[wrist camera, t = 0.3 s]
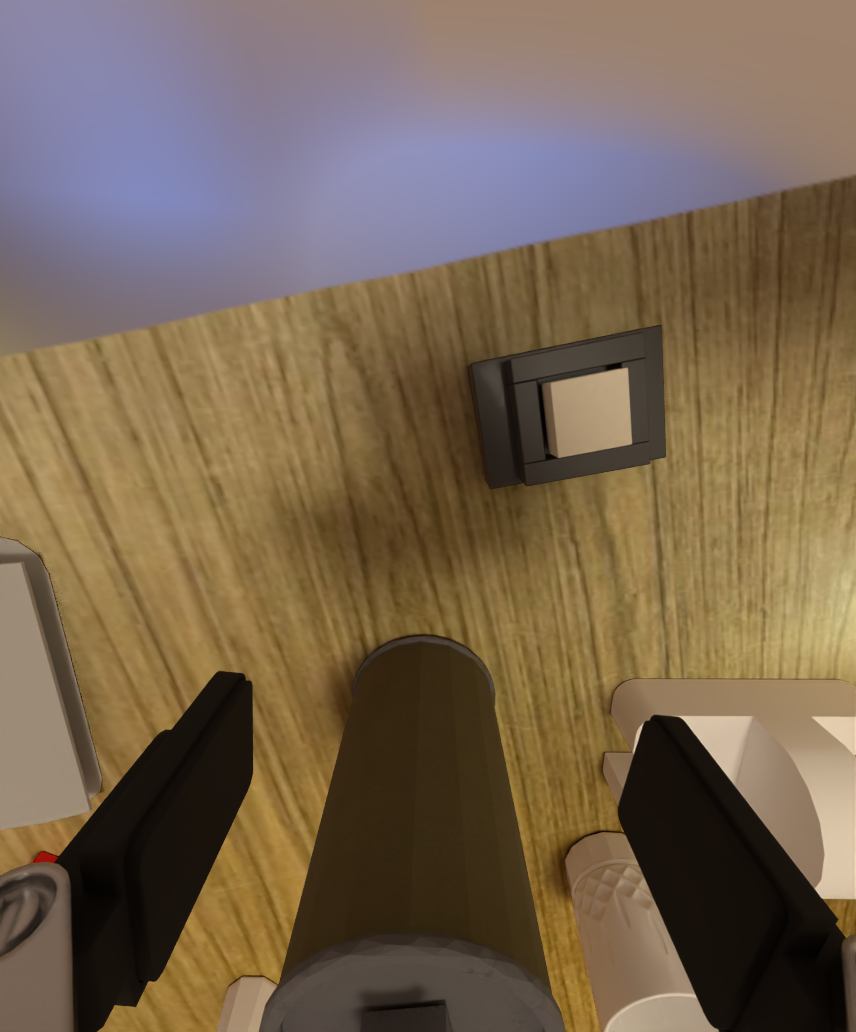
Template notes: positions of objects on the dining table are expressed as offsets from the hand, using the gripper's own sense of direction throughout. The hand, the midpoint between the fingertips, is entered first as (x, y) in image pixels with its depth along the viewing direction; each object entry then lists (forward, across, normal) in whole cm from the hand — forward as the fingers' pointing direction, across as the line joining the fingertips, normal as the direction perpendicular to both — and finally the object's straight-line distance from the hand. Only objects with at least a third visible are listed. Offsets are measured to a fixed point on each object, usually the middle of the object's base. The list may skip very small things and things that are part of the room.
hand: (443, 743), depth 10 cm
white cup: (+18, -17, +28) cm, 37 cm away
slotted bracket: (+18, -24, +14) cm, 33 cm away
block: (+18, -6, -8) cm, 20 cm away
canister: (+18, -1, +14) cm, 23 cm away
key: (+14, -6, -8) cm, 17 cm away
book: (+18, +32, +16) cm, 40 cm away
